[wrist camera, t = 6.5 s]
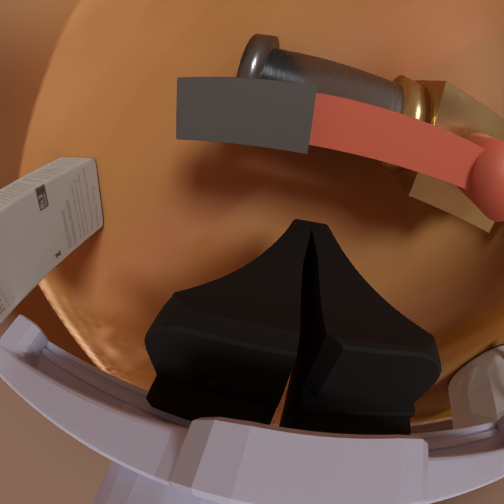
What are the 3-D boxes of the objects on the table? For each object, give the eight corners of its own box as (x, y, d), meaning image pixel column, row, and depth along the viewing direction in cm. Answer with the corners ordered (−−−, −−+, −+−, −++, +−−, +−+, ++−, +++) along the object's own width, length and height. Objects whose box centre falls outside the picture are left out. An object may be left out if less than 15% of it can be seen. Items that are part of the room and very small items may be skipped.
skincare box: (106, 225, 20) (5, 331, 10) (72, 217, 20) (-22, 305, 11) (96, 153, 16) (-43, 245, 7) (60, 153, 17) (-59, 230, 7)
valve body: (486, 126, 10) (537, 150, 6) (461, 196, 13) (500, 239, 9) (389, 73, 10) (423, 68, 6) (366, 155, 13) (387, 187, 9)
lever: (509, 147, 6) (536, 163, 5) (491, 206, 8) (513, 229, 6) (203, 67, 8) (178, 65, 6) (200, 138, 10) (176, 151, 8)
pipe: (525, 159, 10) (567, 187, 6) (501, 217, 13) (535, 256, 9) (268, 42, 11) (247, 23, 7) (252, 122, 14) (226, 137, 10)
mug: (498, 381, 22) (510, 442, 14) (437, 398, 25) (442, 466, 17) (541, 315, 15) (570, 389, 7) (471, 334, 18) (494, 428, 10)
